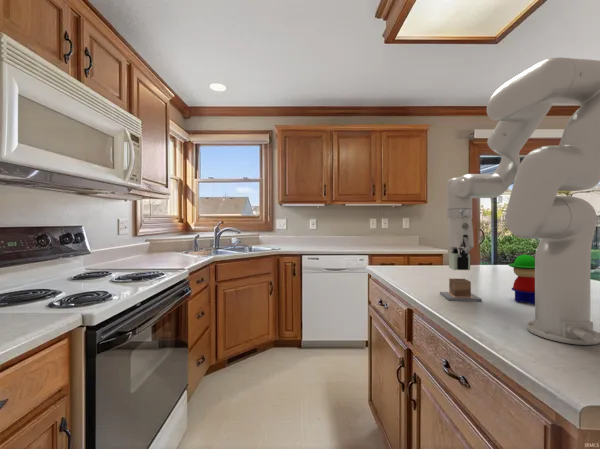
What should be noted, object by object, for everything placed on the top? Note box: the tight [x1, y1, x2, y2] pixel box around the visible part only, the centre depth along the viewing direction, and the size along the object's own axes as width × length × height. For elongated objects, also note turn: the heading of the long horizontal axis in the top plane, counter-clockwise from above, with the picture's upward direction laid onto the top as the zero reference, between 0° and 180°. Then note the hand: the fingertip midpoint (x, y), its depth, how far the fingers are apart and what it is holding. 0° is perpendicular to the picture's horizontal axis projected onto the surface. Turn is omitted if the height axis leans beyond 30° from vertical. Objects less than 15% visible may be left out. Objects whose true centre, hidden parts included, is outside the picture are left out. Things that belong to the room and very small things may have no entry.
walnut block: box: [448, 277, 472, 297], centre depth 101 cm, size 5×5×5 cm
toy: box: [508, 254, 535, 305], centre depth 96 cm, size 9×9×15 cm
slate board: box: [439, 291, 483, 302], centre depth 101 cm, size 9×10×1 cm
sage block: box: [448, 252, 471, 271], centre depth 101 cm, size 5×5×5 cm
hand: (459, 267), depth 101 cm, fingers closed on sage block, 5 cm apart
